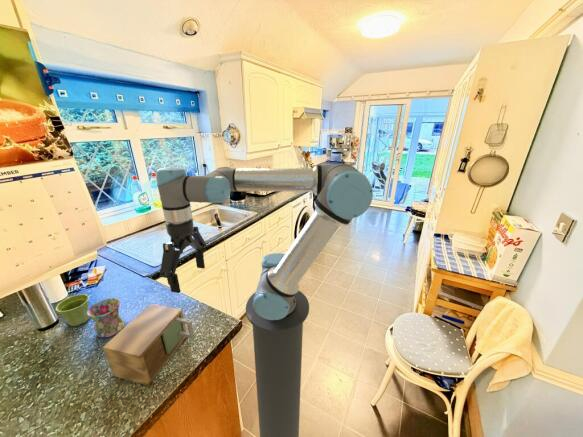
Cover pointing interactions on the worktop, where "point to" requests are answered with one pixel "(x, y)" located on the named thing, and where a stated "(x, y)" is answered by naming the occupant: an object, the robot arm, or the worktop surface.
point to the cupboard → (142, 345)
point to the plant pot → (74, 309)
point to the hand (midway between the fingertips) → (189, 278)
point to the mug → (106, 317)
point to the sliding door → (176, 333)
